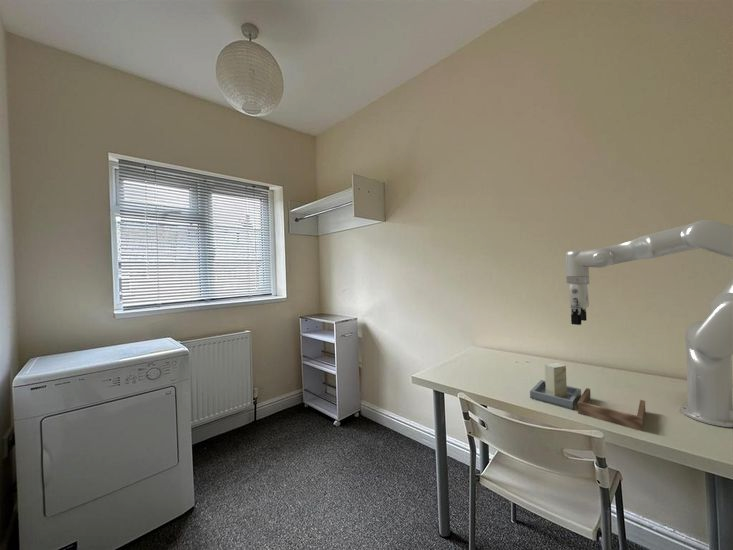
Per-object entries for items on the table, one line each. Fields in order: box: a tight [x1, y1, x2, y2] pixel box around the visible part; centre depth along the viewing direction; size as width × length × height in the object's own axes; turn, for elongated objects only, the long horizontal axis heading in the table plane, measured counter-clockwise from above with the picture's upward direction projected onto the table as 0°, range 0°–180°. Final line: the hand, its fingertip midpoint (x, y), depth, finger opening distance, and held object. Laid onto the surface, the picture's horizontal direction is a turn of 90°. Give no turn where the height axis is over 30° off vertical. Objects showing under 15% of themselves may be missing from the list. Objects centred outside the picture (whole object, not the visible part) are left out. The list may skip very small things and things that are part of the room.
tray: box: [529, 379, 582, 411], centre depth 113 cm, size 14×14×3 cm
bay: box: [577, 387, 646, 432], centre depth 100 cm, size 16×15×4 cm
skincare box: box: [544, 362, 568, 397], centre depth 114 cm, size 6×4×12 cm
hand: (579, 322), depth 117 cm, fingers open, 9 cm apart
